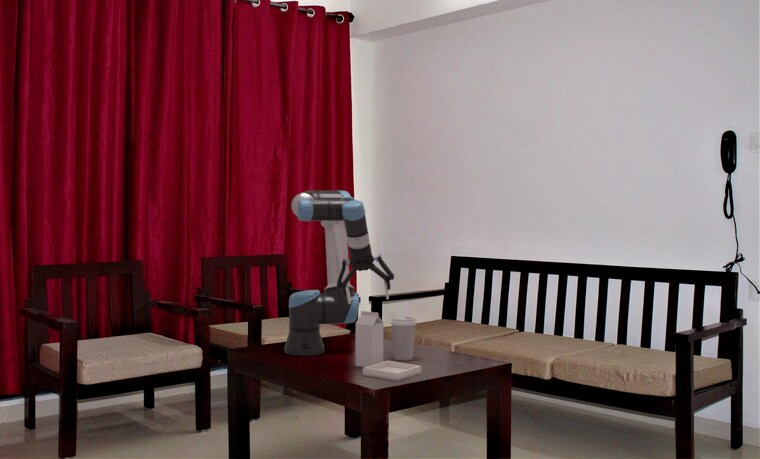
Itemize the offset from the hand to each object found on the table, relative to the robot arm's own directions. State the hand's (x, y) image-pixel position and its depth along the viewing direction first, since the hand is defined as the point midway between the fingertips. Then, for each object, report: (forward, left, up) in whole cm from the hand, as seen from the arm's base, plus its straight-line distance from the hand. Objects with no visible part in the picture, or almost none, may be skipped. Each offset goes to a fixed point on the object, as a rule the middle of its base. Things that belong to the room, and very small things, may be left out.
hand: (368, 300), depth 263 cm
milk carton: (+2, -2, -23) cm, 23 cm away
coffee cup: (+5, +15, -23) cm, 28 cm away
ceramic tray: (+16, -8, -23) cm, 29 cm away
